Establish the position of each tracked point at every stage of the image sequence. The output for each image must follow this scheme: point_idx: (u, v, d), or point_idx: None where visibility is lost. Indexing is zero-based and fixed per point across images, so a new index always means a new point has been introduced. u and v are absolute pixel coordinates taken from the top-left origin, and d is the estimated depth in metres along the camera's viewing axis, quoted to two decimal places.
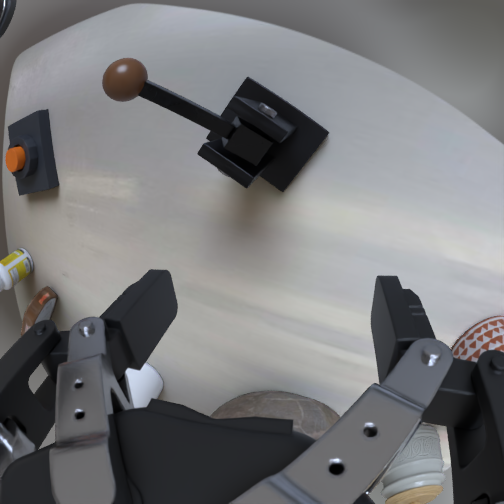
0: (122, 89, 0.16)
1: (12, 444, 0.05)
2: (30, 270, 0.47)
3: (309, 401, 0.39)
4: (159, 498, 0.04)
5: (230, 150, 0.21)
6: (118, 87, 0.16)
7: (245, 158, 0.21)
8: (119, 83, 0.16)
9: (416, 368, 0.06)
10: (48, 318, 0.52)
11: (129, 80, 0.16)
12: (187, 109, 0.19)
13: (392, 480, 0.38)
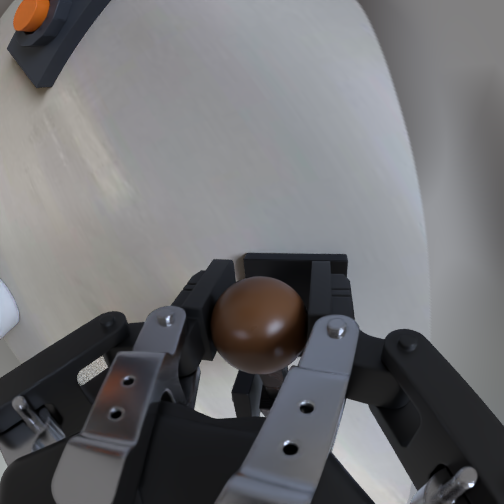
0: (243, 371, 0.09)
1: (37, 433, 0.05)
2: None
3: None
4: (159, 498, 0.04)
5: (261, 410, 0.16)
6: (241, 369, 0.09)
7: (264, 414, 0.17)
8: (250, 371, 0.09)
9: (326, 343, 0.07)
10: None
11: (267, 373, 0.09)
12: (274, 383, 0.13)
13: None
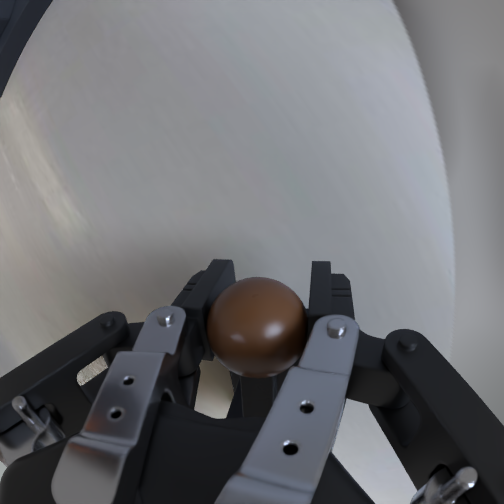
0: (234, 362, 0.08)
1: (37, 433, 0.05)
2: None
3: None
4: (159, 498, 0.04)
5: None
6: (233, 354, 0.08)
7: None
8: (243, 354, 0.08)
9: (326, 343, 0.07)
10: None
11: (260, 368, 0.08)
12: None
13: None
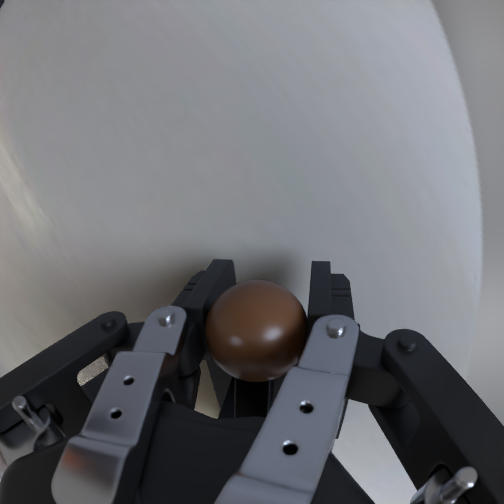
0: (231, 354, 0.08)
1: (37, 433, 0.05)
2: None
3: None
4: (159, 498, 0.04)
5: None
6: (231, 343, 0.08)
7: None
8: (242, 342, 0.08)
9: (326, 343, 0.07)
10: None
11: (258, 361, 0.08)
12: None
13: None
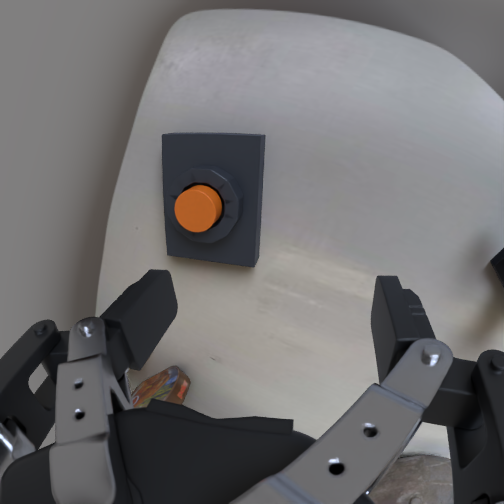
0: None
1: (12, 444, 0.05)
2: None
3: None
4: (159, 498, 0.04)
5: None
6: None
7: None
8: None
9: (416, 368, 0.06)
10: None
11: None
12: None
13: None
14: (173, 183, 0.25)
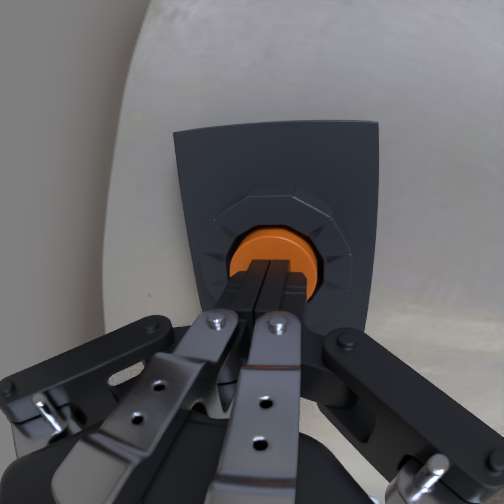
0: None
1: (54, 432, 0.05)
2: None
3: None
4: (159, 498, 0.04)
5: None
6: None
7: None
8: None
9: (270, 340, 0.07)
10: None
11: None
12: None
13: None
14: (211, 230, 0.13)
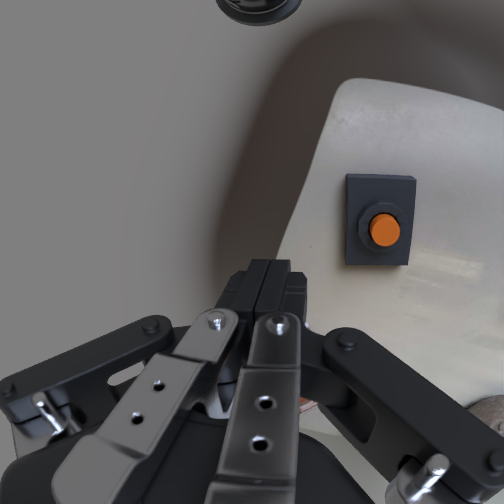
0: None
1: (54, 432, 0.05)
2: None
3: None
4: (159, 498, 0.04)
5: None
6: None
7: None
8: None
9: (271, 340, 0.07)
10: None
11: None
12: None
13: None
14: (365, 213, 0.35)
